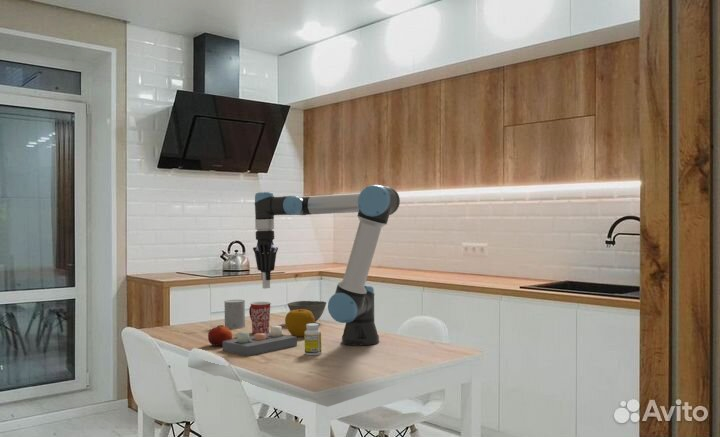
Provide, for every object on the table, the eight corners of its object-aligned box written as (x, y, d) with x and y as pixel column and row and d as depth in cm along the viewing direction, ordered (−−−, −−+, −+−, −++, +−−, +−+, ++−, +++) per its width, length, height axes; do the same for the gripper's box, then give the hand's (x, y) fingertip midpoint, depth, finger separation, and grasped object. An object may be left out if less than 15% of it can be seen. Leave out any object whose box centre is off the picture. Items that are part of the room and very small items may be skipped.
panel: (296, 345, 241) (296, 336, 241) (247, 356, 223) (247, 346, 223) (271, 340, 252) (271, 332, 252) (222, 350, 234) (222, 341, 234)
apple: (280, 338, 257) (280, 311, 257) (291, 332, 270) (291, 306, 270) (309, 339, 254) (309, 311, 254) (319, 333, 267) (318, 307, 267)
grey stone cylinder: (220, 328, 283) (220, 302, 283) (230, 324, 292) (230, 299, 292) (239, 329, 280) (238, 302, 280) (248, 325, 289) (248, 299, 289)
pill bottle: (312, 351, 230) (312, 322, 230) (324, 353, 226) (324, 323, 226) (301, 354, 225) (300, 324, 225) (313, 356, 221) (312, 326, 221)
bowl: (334, 321, 296) (334, 301, 296) (311, 328, 280) (311, 306, 280) (303, 319, 306) (303, 299, 306) (279, 324, 290) (279, 304, 290)
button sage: (251, 342, 232) (251, 332, 232) (242, 344, 228) (241, 334, 228) (244, 341, 235) (244, 331, 235) (235, 343, 231) (235, 332, 231)
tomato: (236, 343, 247) (235, 323, 247) (225, 348, 238) (224, 327, 238) (215, 342, 249) (215, 323, 249) (204, 347, 241) (203, 327, 241)
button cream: (283, 336, 243) (283, 326, 243) (275, 338, 240) (275, 328, 240) (276, 335, 246) (276, 325, 246) (268, 336, 243) (268, 326, 243)
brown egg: (268, 344, 237) (268, 333, 237) (259, 345, 234) (259, 335, 234) (261, 342, 240) (261, 332, 240) (252, 344, 237) (252, 334, 237)
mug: (275, 333, 268) (274, 302, 269) (257, 335, 263) (257, 304, 263) (260, 329, 278) (259, 300, 278) (242, 332, 272) (242, 302, 272)
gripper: (282, 229, 245) (284, 288, 245) (261, 230, 253) (262, 286, 253) (268, 230, 239) (269, 289, 239) (247, 230, 248) (248, 288, 248)
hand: (266, 288), depth 246 cm, fingers closed
